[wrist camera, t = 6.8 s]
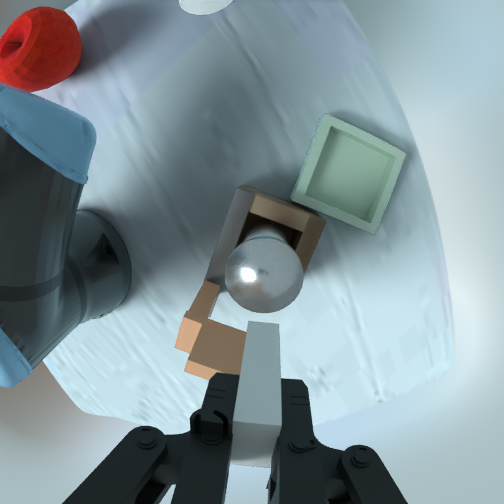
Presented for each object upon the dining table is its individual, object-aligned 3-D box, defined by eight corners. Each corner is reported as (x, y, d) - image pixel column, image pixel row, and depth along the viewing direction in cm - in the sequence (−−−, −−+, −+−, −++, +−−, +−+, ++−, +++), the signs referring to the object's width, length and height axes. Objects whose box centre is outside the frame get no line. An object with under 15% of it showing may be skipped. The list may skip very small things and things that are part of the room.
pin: (234, 250, 34) (214, 298, 22) (251, 204, 33) (240, 227, 20) (279, 267, 34) (285, 322, 22) (298, 222, 33) (315, 256, 20)
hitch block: (205, 288, 37) (194, 311, 31) (242, 184, 33) (236, 187, 27) (273, 312, 37) (273, 339, 31) (316, 212, 33) (326, 222, 27)
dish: (289, 197, 33) (291, 200, 30) (320, 117, 30) (325, 113, 27) (366, 229, 34) (374, 235, 31) (395, 154, 31) (406, 153, 28)
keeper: (198, 299, 30) (156, 383, 17) (207, 274, 29) (164, 350, 16) (266, 323, 30) (263, 418, 18) (277, 299, 30) (281, 389, 17)
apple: (56, 30, 27) (2, 5, 14) (113, 24, 27) (60, -15, 15) (32, 98, 30) (-31, 89, 18) (85, 101, 31) (17, 84, 18)
